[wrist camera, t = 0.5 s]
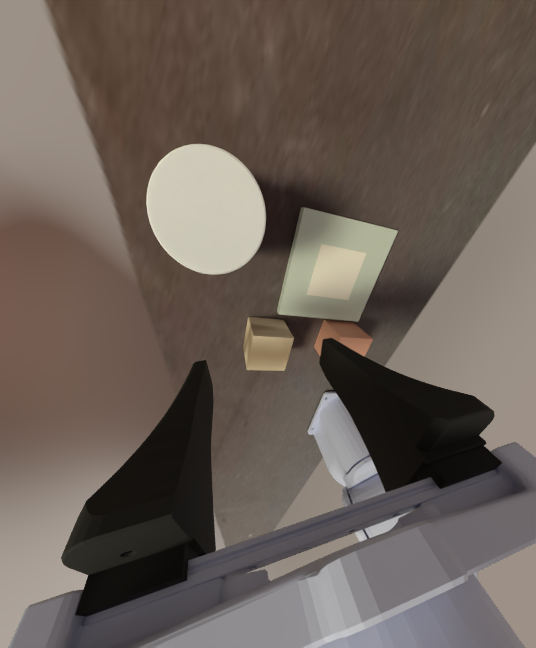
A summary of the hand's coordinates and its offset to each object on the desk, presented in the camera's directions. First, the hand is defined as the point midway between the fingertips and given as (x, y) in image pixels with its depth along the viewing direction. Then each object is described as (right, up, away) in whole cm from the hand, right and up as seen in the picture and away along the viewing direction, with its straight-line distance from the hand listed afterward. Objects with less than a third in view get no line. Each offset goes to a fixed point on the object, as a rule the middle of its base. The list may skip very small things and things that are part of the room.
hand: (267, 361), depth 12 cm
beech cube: (-1, +1, +11) cm, 11 cm away
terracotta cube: (+8, +1, +13) cm, 15 cm away
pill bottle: (-4, +11, +4) cm, 13 cm away
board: (+7, +8, +9) cm, 14 cm away
